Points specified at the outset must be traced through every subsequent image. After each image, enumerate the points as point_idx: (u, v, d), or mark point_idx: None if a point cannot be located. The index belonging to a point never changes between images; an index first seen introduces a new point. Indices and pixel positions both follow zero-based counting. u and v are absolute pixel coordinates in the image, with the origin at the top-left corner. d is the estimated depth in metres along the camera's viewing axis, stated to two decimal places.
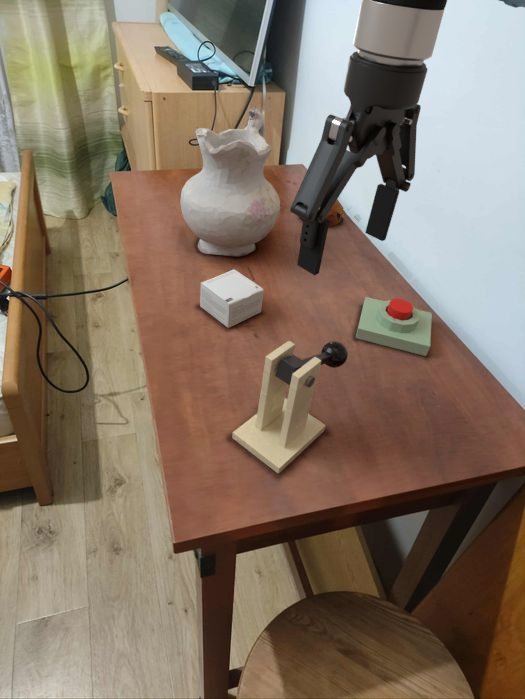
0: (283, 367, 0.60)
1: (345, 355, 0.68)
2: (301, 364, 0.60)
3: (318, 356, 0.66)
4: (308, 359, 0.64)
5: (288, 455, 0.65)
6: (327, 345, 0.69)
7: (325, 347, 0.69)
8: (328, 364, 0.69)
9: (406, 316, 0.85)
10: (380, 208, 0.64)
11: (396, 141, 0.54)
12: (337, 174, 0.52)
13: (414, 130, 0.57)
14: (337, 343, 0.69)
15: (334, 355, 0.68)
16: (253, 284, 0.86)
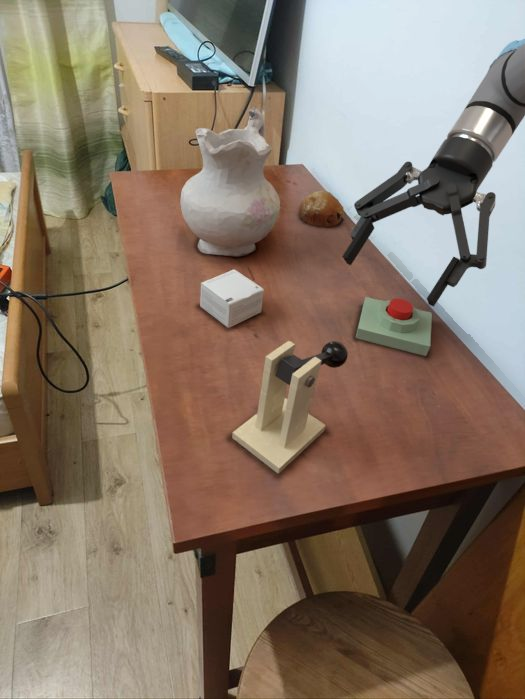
0: (283, 367, 0.60)
1: (345, 355, 0.68)
2: (301, 364, 0.60)
3: (318, 356, 0.66)
4: (308, 359, 0.64)
5: (288, 455, 0.65)
6: (327, 345, 0.69)
7: (325, 347, 0.69)
8: (328, 364, 0.69)
9: (406, 316, 0.85)
10: None
11: (454, 200, 0.68)
12: None
13: (486, 211, 0.67)
14: (337, 343, 0.69)
15: (334, 355, 0.68)
16: (253, 284, 0.86)
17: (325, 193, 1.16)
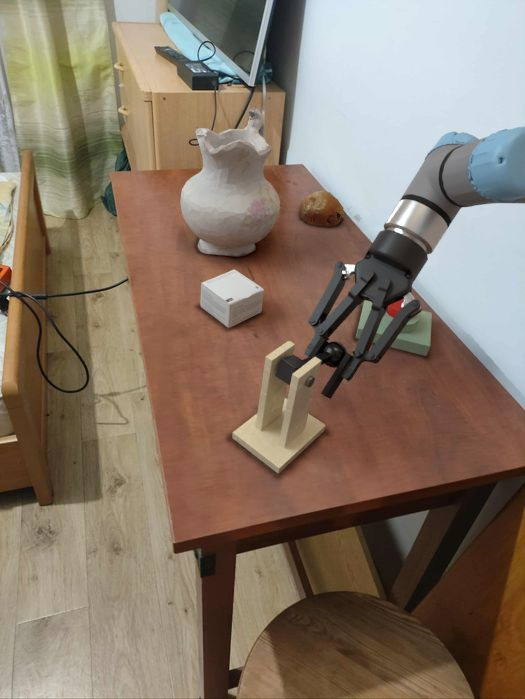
0: (283, 367, 0.60)
1: None
2: (301, 364, 0.60)
3: (318, 356, 0.66)
4: (308, 359, 0.64)
5: (288, 455, 0.65)
6: (327, 345, 0.69)
7: (325, 347, 0.69)
8: (328, 364, 0.69)
9: None
10: None
11: (380, 295, 0.67)
12: None
13: (402, 316, 0.66)
14: (337, 343, 0.69)
15: (334, 355, 0.68)
16: (253, 284, 0.86)
17: (325, 193, 1.16)
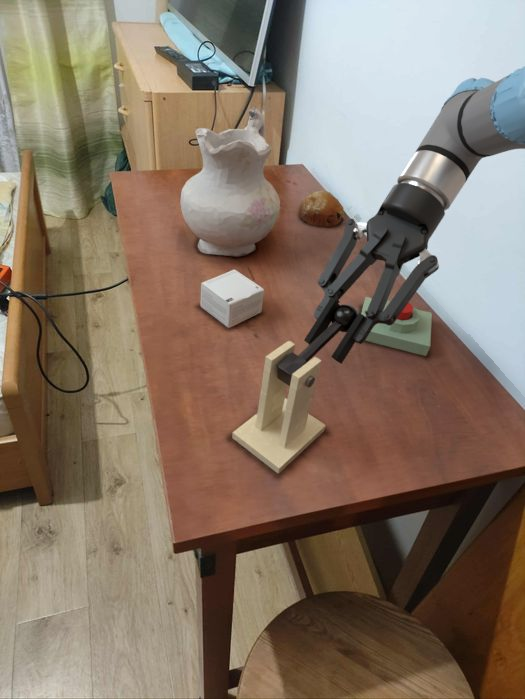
0: (281, 373, 0.60)
1: None
2: (298, 365, 0.60)
3: (323, 335, 0.64)
4: (310, 346, 0.62)
5: (288, 455, 0.65)
6: (334, 313, 0.65)
7: (333, 315, 0.65)
8: None
9: (406, 316, 0.85)
10: None
11: (394, 252, 0.63)
12: None
13: (418, 273, 0.62)
14: (344, 309, 0.65)
15: (342, 324, 0.65)
16: (253, 284, 0.86)
17: (325, 193, 1.16)
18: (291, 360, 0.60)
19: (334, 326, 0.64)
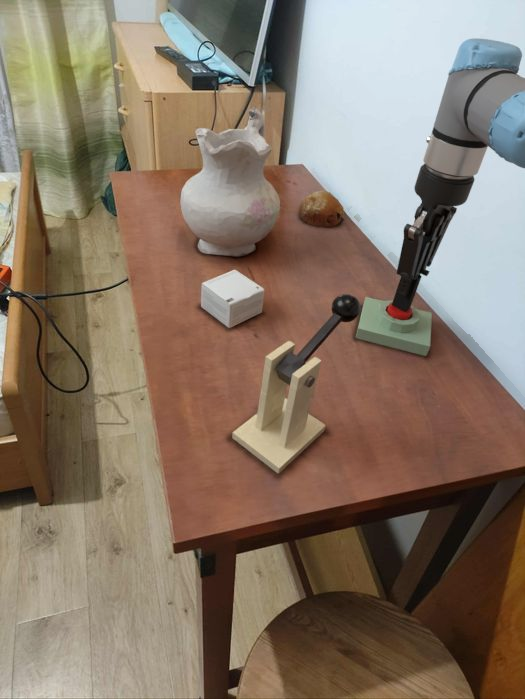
0: (281, 374, 0.60)
1: (355, 310, 0.63)
2: (297, 365, 0.60)
3: (322, 330, 0.63)
4: (310, 343, 0.62)
5: (288, 455, 0.65)
6: (334, 304, 0.64)
7: (332, 307, 0.64)
8: (341, 321, 0.65)
9: (405, 318, 0.85)
10: None
11: (443, 226, 0.76)
12: None
13: (447, 225, 0.79)
14: (343, 301, 0.63)
15: (342, 316, 0.63)
16: (254, 284, 0.86)
17: (325, 193, 1.16)
18: (290, 361, 0.60)
19: (334, 318, 0.63)
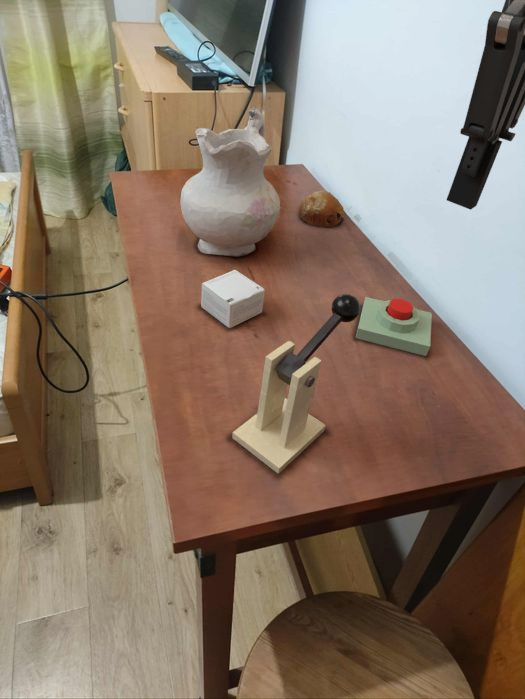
0: (281, 374, 0.60)
1: (355, 310, 0.63)
2: (297, 365, 0.60)
3: (322, 330, 0.63)
4: (310, 343, 0.62)
5: (288, 455, 0.65)
6: (334, 304, 0.64)
7: (332, 307, 0.64)
8: (341, 321, 0.65)
9: (406, 316, 0.85)
10: None
11: None
12: None
13: None
14: (343, 301, 0.63)
15: (342, 316, 0.63)
16: (254, 284, 0.86)
17: (325, 193, 1.16)
18: (290, 361, 0.60)
19: (334, 318, 0.63)
